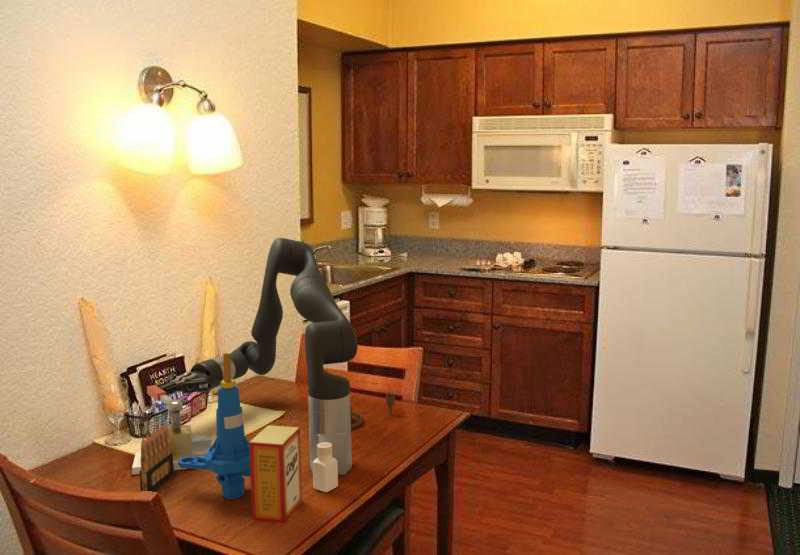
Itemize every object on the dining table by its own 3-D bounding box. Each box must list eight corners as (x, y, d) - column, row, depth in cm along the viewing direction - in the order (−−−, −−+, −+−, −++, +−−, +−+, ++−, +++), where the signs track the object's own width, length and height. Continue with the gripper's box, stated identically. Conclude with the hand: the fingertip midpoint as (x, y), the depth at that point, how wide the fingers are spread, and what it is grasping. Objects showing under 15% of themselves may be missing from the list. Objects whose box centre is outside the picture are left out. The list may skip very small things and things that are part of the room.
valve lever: (157, 391, 179) (157, 384, 179) (184, 409, 166) (184, 401, 166) (144, 394, 177) (144, 387, 177) (171, 412, 164) (170, 404, 164)
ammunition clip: (166, 473, 163) (163, 421, 161) (174, 473, 162) (171, 421, 160) (140, 494, 152) (136, 439, 150) (148, 495, 152) (144, 440, 150)
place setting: (323, 412, 202) (323, 392, 201) (396, 414, 200) (396, 393, 199) (309, 436, 185) (308, 414, 184) (388, 439, 182) (388, 416, 181)
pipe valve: (211, 447, 173) (209, 403, 171) (211, 456, 167) (209, 411, 166) (144, 454, 169) (141, 408, 167) (142, 463, 164) (139, 417, 162)
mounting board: (220, 450, 175) (220, 443, 175) (221, 465, 167) (221, 458, 166) (136, 458, 171) (136, 452, 170) (132, 474, 162) (132, 467, 162)
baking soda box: (271, 497, 150) (268, 423, 148) (301, 500, 149) (299, 425, 146) (252, 520, 141) (249, 440, 139) (284, 523, 140) (281, 443, 137)
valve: (194, 478, 160) (186, 343, 155) (267, 485, 156) (261, 348, 151) (167, 500, 150) (158, 357, 145) (245, 509, 146) (238, 362, 141)
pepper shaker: (312, 488, 154) (310, 445, 153) (325, 482, 157) (324, 439, 156) (326, 494, 152) (325, 450, 150) (339, 487, 155) (338, 444, 154)
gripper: (194, 355, 194) (141, 372, 179) (231, 362, 187) (180, 380, 172) (195, 383, 195) (143, 402, 180) (233, 390, 188) (181, 411, 174)
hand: (161, 391), depth 176 cm, fingers closed
